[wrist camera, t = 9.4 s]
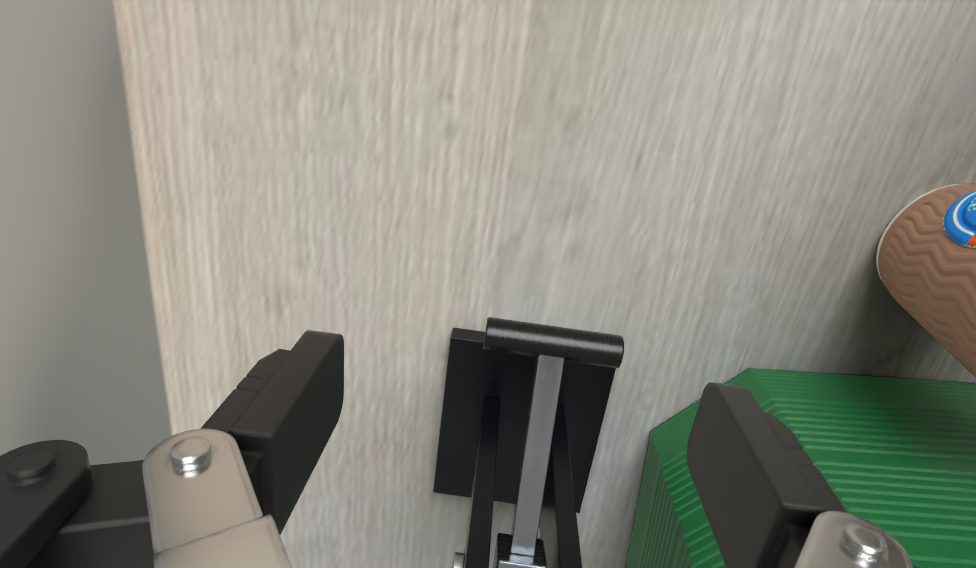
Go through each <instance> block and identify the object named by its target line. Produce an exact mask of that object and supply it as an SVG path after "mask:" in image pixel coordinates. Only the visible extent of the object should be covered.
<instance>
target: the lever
mask: <svg viewBox="0 0 976 568" xmlns="http://www.w3.org/2000/svg"><path fill="white" fill-rule="evenodd" d="M483 348H484V349H485V350H491V351H498V352H505V353H512V354H520V355H527V356H534V357H537V360H536V366H535V373H534V380H533V387H532V393H531V400H530V407H529V414H528V420H527V427H526V434H525V441H524V447H523V454H522V461H521V468H520V474H519V481H518V488H517V495H516V501H515V508H514V515H513V522H512V528H511V535H510V534H503V533H498V535H497V541H496V548H495V555H494V562H493V568H547V563H546V556H545V549H544V543H543V540H542V539H538V538H537V535H538V528H539V522H540V515H541V508H542V502H543V495H544V489H545V482H546V476H547V469H548V462H549V456H550V449H551V443H552V436H553V430H554V423H555V416H556V410H557V403H558V397H559V390H560V384H561V377H562V370H563V364H564V361H569V362H576V363H583V364H591V365H598V366H605V367H612V368H619V367H620V365H621V362H622V359H623V353H624V341H623V337H622V336H619V335H612V334H605V333H598V332H591V331H584V330H577V329H570V328H562V327H555V326H548V325H541V324H534V323H527V322H520V321H513V320H505V319H498V318H491V317H488V319H487V325H486V332H485V339H484V346H483Z"/></svg>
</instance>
